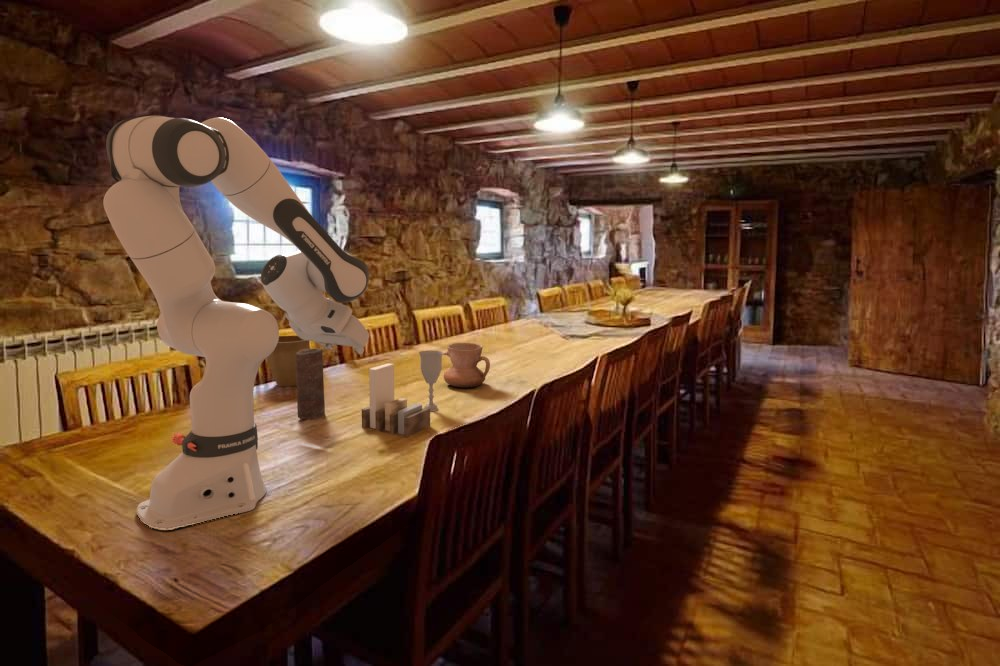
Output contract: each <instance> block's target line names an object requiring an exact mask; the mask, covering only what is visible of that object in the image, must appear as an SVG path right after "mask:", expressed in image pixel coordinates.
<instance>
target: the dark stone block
mask: <svg viewBox="0 0 1000 666" xmlns="http://www.w3.org/2000/svg"><path fill="white" fill-rule="evenodd" d="M323 357H324V356H323V349H322V348H311V349H310V348H309V349H302V350H300V351H299V352H297V353H296V379H297V385H296V406H297V407H296V409H297V418H298V419H300V420H316V419H317V420H318V419H320V418H321V419H322V418H324V417H326V411H325V410H326V409H325V408H326V407H325V405H326V404H325V385H324V363H323V362H324V361H323V360H324V359H323Z"/></svg>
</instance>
